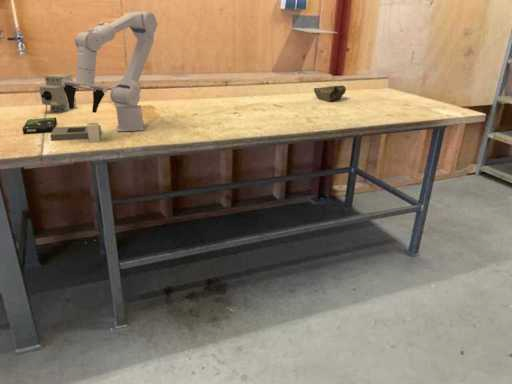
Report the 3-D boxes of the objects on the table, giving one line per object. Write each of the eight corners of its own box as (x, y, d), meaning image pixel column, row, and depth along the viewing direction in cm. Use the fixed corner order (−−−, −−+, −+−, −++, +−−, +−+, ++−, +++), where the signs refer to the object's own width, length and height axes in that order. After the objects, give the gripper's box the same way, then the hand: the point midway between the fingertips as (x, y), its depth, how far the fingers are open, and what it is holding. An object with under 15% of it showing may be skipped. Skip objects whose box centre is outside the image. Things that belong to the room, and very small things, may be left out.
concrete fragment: (308, 93, 221) (325, 75, 225) (318, 108, 226) (335, 90, 230) (326, 91, 209) (344, 72, 213) (336, 107, 213) (353, 88, 217)
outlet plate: (101, 130, 158) (100, 125, 157) (99, 137, 149) (99, 132, 148) (55, 132, 154) (54, 127, 153) (51, 140, 145) (50, 135, 144)
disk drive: (54, 134, 155) (57, 123, 167) (53, 126, 153) (56, 116, 166) (23, 136, 151) (28, 125, 164) (22, 128, 150) (27, 118, 163)
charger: (100, 139, 148) (97, 122, 145) (99, 142, 145) (97, 124, 142) (90, 139, 147) (87, 122, 144) (89, 142, 144) (86, 125, 141)
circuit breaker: (41, 113, 180) (34, 78, 174) (62, 107, 192) (57, 73, 186) (56, 115, 178) (50, 79, 172) (77, 108, 191) (71, 74, 185)
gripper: (58, 64, 135) (56, 107, 137) (104, 72, 136) (101, 114, 138) (67, 67, 141) (64, 107, 144) (110, 74, 143) (107, 113, 145)
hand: (82, 110), depth 142 cm, fingers open, 7 cm apart
